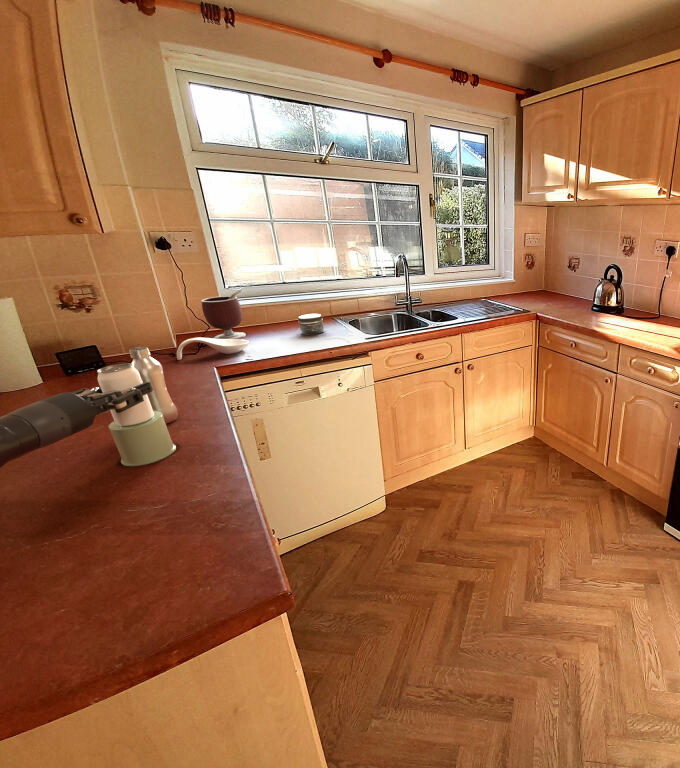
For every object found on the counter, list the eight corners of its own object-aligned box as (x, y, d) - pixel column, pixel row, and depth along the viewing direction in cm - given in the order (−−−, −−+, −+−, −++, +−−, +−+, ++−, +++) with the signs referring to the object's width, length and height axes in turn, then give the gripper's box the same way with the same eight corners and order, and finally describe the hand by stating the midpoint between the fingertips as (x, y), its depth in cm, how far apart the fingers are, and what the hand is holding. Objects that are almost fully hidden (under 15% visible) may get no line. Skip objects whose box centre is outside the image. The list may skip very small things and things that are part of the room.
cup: (139, 471, 88) (123, 433, 85) (112, 463, 92) (96, 426, 88) (186, 449, 97) (174, 414, 93) (159, 442, 100) (147, 407, 97)
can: (140, 426, 88) (119, 372, 84) (107, 428, 87) (85, 373, 83) (162, 413, 94) (143, 362, 90) (131, 414, 94) (111, 363, 89)
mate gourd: (208, 343, 179) (194, 295, 171) (215, 335, 191) (202, 290, 183) (249, 338, 184) (237, 292, 177) (253, 331, 196) (243, 288, 189)
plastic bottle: (147, 430, 106) (118, 354, 98) (151, 420, 111) (123, 347, 103) (179, 424, 109) (153, 350, 101) (181, 414, 114) (156, 343, 107)
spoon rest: (249, 345, 175) (245, 328, 172) (251, 352, 166) (247, 334, 163) (179, 356, 163) (173, 338, 160) (177, 364, 154) (170, 345, 151)
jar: (328, 332, 193) (325, 315, 190) (306, 336, 186) (302, 319, 184) (319, 328, 200) (316, 312, 197) (297, 332, 193) (294, 316, 190)
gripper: (77, 402, 73) (160, 369, 88) (3, 400, 74) (97, 368, 90) (94, 440, 76) (171, 402, 91) (22, 438, 77) (110, 401, 92)
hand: (134, 386), depth 90 cm, fingers closed on can, 6 cm apart
